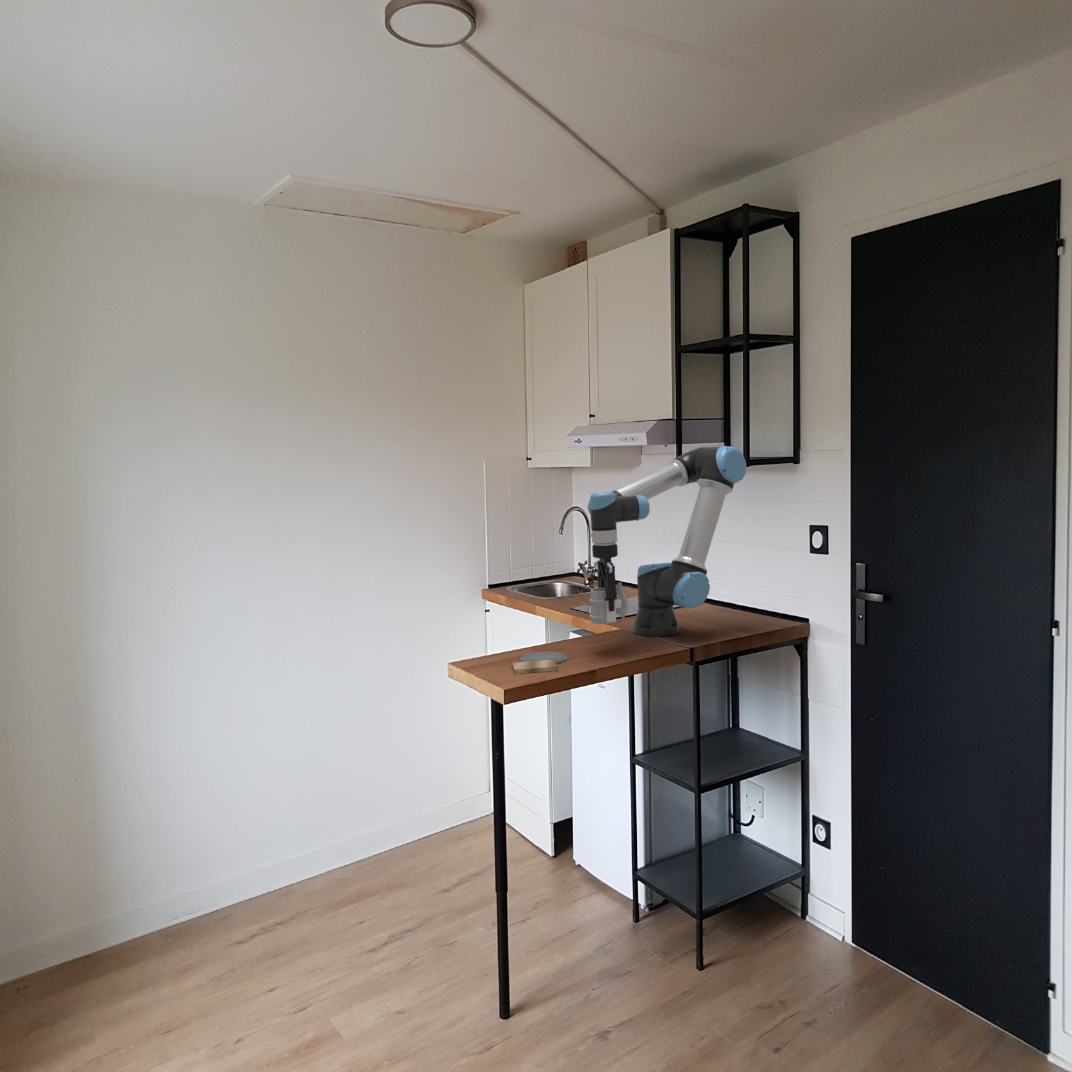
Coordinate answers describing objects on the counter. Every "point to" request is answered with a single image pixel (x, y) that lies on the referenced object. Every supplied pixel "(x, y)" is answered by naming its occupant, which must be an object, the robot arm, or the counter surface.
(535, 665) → the small board
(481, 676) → the counter surface
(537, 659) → the coaster
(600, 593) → the mug
